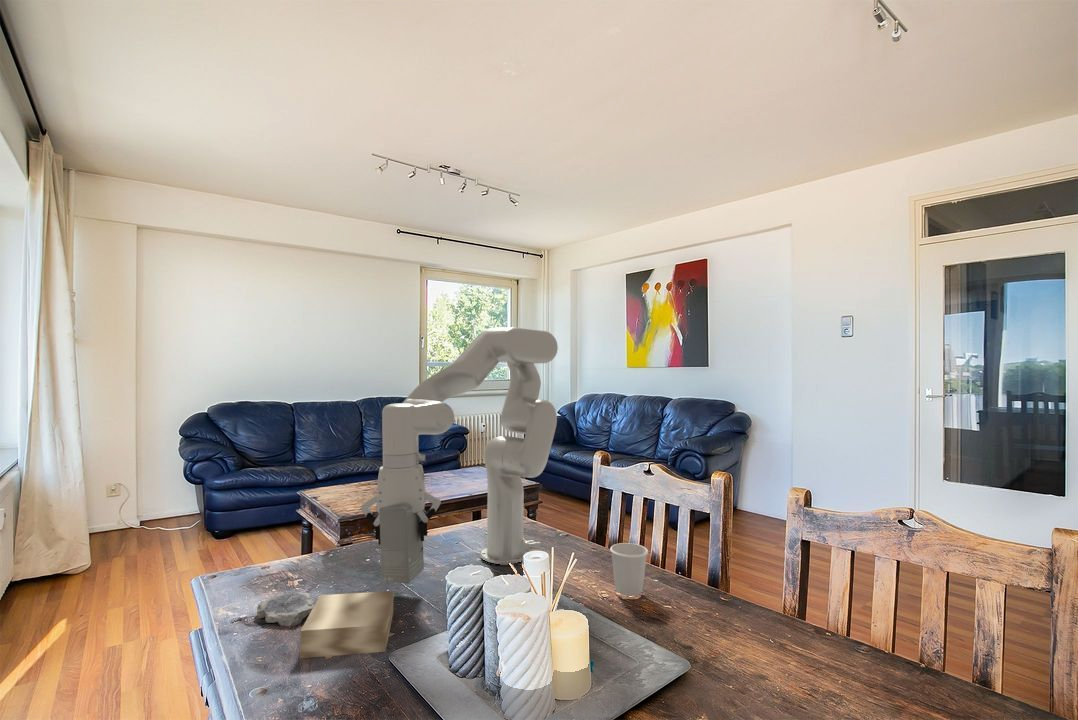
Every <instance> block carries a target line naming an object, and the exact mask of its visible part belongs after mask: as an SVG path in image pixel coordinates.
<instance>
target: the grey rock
mask: <svg viewBox="0 0 1078 720" xmlns="http://www.w3.org/2000/svg"><path fill="white" fill-rule="evenodd" d="M314 605H315V604H314V601H313V599H311V595H310V593H309V592H303V591H302V592H301V591H300V592H297V591H295V592H287V593H281V594H274V595H272V596H271V597H269V598H267V599H265V600H263V601H260V602H259V603H258V604H257V607H256V615H257V618H258V620H261V619H263V618H264V620H265V622H266V623H268V624H270V623H273V624H274V623H278V624H279V626H281V627H294V626H297V625H300V624H301V623H302V622H303V619H304V618H305V617H308V616H309V615H310V613H311V611H312V609H313V607H314Z"/></svg>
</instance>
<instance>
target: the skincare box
mask: <svg viewBox="0 0 1078 720" xmlns="http://www.w3.org/2000/svg"><path fill="white" fill-rule="evenodd" d="M379 515H380V542H381V545H380V561H381V562H380V563H381V566H380V567H381V582H384V583H399V584H406V585H409V584H410V583H411V582H412V581H413V580H414V579H415V578H417V576H418V575H419V574H421V572H423V570H425V566H424V565H425V563H424V561H425V559H424V541H421V533H420V522H421V518H420V517H419V515H418V514H417V513H412V506H398V507H387V508H380V509H379Z"/></svg>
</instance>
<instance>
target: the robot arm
mask: <svg viewBox="0 0 1078 720" xmlns="http://www.w3.org/2000/svg"><path fill="white" fill-rule="evenodd" d="M558 346H559V345H558V341H557V340H556V338H555V336H554V335H553V334H552V333H551V332H549V331H546V330H537V329H530V328H524V327H523V328H522V327H513V326H512V327H511V326H510V327H492V328H487V329H484V330H483V331H481V332H480V333H479V334H478V335H477V336H476V337H474V339H473V340H472V341H471V342H470V344H468V346H467V347H466V348H465V349H464V350H463V351H462V352H461V353H460V354H459V355H458V357H457V358H456V359H455V360H454V361H453V362H451V364H449V365H447V366H445V367H444V368H442V369H440V370H439V371H437V372H436V373H434V374H433V375H431V376H430V377H429V376H428V378H426V379H425V380H424V381H422V382H421V383H420V384H418V385H417V386H416V387H415V388H414V389H413V390H412V391H411V393H410V394H408V396H407V397H406V398H405V399H404V400H403V401H402V402H401V403H390V404H387V405H384V406H383V408H382V413H381V415H382V416H381V417H382V420H381V424H382V425H381V426H382V429H381V431H382V435H381V436H382V466H380V467H379V469H378V470H379V471H378V477H377V485H376V486H377V487H376V495H374V496H373V497H371V498H370V499H368V500H367V501H365V502H364V503H362V504H361V506H360V510H361V512H362V513H363V514H364V516H366V519H368V521H369V522H370V523H372V525H373V526H374V531H375V532H374V535H375V537H374V538H375V540H376V541H378V545H379V546H381V542H380V515H379V509H380V508H387V507H398V506H412V513H417V514H418V515H419V517H420V518H421V522H420V533H421V541H423V542H425V537H428V522H429V520H430V519H431V518H432V517H433V516H434V515H435V514H436V512H437V510H438V509H439V507H440V506H441V503H442V502H441V499H439V498H437V497H436V496H434V495H432V494H431V493H429V492H427V491H426V483H425V482H426V481H425V474H424V473H425V472H424V468H423V465H422V464H420V463H421V462H422V461H426V453H425V454H423V453H420V452H419V436H420V435H436V436H437V435H441V434H444V433H445V432H447V431H448V430H450V429H451V428H452V427H453V425H454V421H455V414H454V410H453V409H452V407H451V406H450V405H448V404H447V403H445V401H446V400H449V399H450V398H452V397H455V396H458V395H462V394H465V393H469V392H470V391H472V390H475V389H477V388H478V387H480V386H481V384H482V383H483V382H484V380H486V378H487V377H488V376H489V375H490V373H491V372H492V371H493V370H494V369H495V368H496V366H497V365H498V364H499V363H500V362H506V363H507V366H508V370H509V372H510V374H509V375H510V382H509V386H508V388H507V392H506V397H505V400H504V403H503V406H502V410H501V414H500V424H501V427H502V428H503V429H504V430H506V431H507V432H511V433H513V434H519V435H520V434H522V435H524V438H523V437H522V438H521V437H518V436H507V435H500V436H495V437H493V438H491V439H490V440H489V441H488V443H486V445H485V448H484V452H483V454H484V455H483V457H484V465H485V469H486V471H485V472H486V478H487V503H486V504H487V513H486V517H487V518H486V519H487V520H486V521H487V522H486V525H487V526H486V548H483V549H482V550H481V552H480V558H482V559H483V560H485V561H488V562H492V563H496V564H500V565H499V566H509V565H508V564H507V562H511V563H516V562H520V561H522V557H523V555H524V554H525V552H526V551H527V552H529V551H530V550H534V551H536V550H541V549H542V543H541V541H535V540H534V539H529V540H526V539H525V537H524V504H525V503H524V496H525V491H524V484H523V480H522V477H524V478H530V479H531V478H532V479H533V478H536V477H539V476H540V475H541V474H542V473H543V471H544V470H545V468H546V466H547V463H548V460H549V456H550V453H551V449H552V445H553V440H554V437H555V433H556V429H557V422H558V417H557V411H556V407H555V406H554V405H553V403H552V402H551V401H549V400H546V399H541V398H539V396H540V391H541V388H542V387H541V385H542V382H541V376H540V373H539V371H538V369H537V367H536V365H535V364H547V363H550V362H552V360H553V361H554V359H555V357H556V356H557V354H558V349H559V347H558ZM426 501H427V502H429V503H431V504H432V505H431V507H430V508H429V509H428V510H427V511H426V510H425V507H426ZM375 504H376V512H377V514H375V513H374V512H373V511H372V510H371V509H370V508H371V507H372V506H374V505H375ZM482 559H481V560H482ZM483 560H482V561H483ZM485 561H484V562H485Z"/></svg>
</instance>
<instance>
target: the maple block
mask: <svg viewBox="0 0 1078 720" xmlns="http://www.w3.org/2000/svg"><path fill="white" fill-rule="evenodd" d="M394 593H395V591H393V590H389V591H372V592H371V591H369V592H368V591H367V592H354V593H337V594H336V593H335V594H334V593H333V594H321V595H319V596H318V598H317V600H316V602H315V604H314V607H313V609H312V611H311V612H310V613H309V614H308V615H307V618H306V620H305V622H304V624H303V626H302V627H301V630H300V638H299V641H300V646H299V650H300V651H299V658H300V659H309V658H310V657H311V658H319V657H323V658H324V657H334V656H345V655H346V656H347V655H358V654H370V653H371V654H372V653H382V652H386V651H387V650H386V649H387V646H388V641H389V637H390V631H391V626H392V623H393V622H392V621H393V617H394V597H395V594H394Z"/></svg>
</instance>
